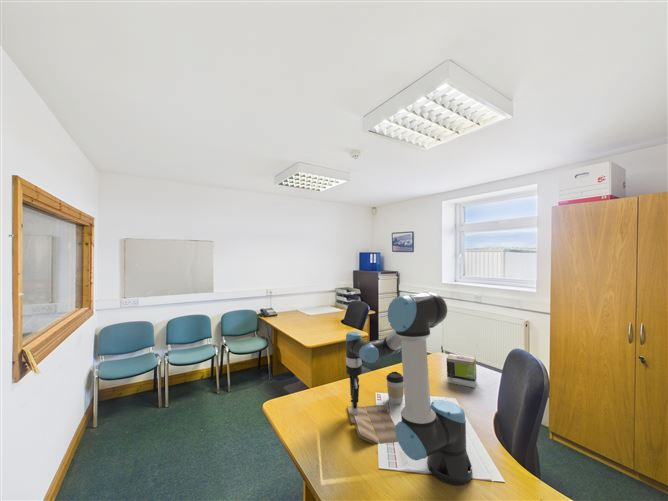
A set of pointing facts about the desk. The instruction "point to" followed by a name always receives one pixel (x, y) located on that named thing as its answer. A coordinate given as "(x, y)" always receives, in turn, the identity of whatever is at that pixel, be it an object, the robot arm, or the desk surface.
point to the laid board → (382, 423)
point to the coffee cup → (395, 387)
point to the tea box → (461, 370)
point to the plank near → (365, 430)
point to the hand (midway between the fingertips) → (354, 413)
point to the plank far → (361, 414)
